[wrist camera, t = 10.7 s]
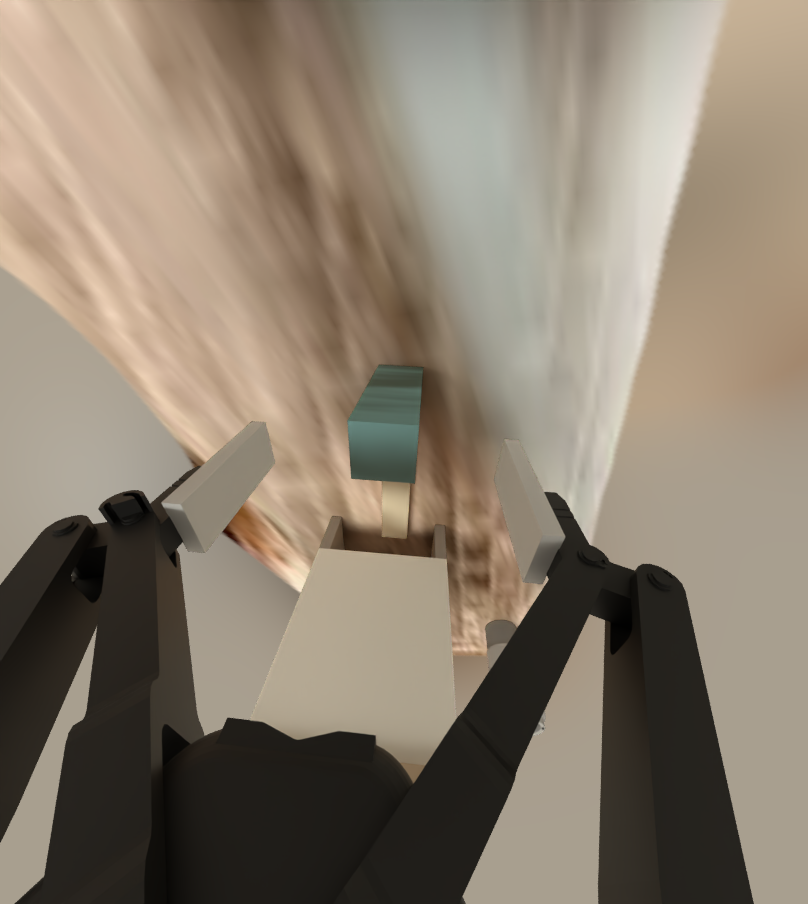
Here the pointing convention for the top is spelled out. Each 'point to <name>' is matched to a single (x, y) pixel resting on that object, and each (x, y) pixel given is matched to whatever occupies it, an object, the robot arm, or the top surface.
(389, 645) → the cupboard
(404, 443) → the teal mallet
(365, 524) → the top surface
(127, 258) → the top surface
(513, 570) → the top surface
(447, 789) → the robot arm
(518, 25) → the top surface
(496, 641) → the cup
